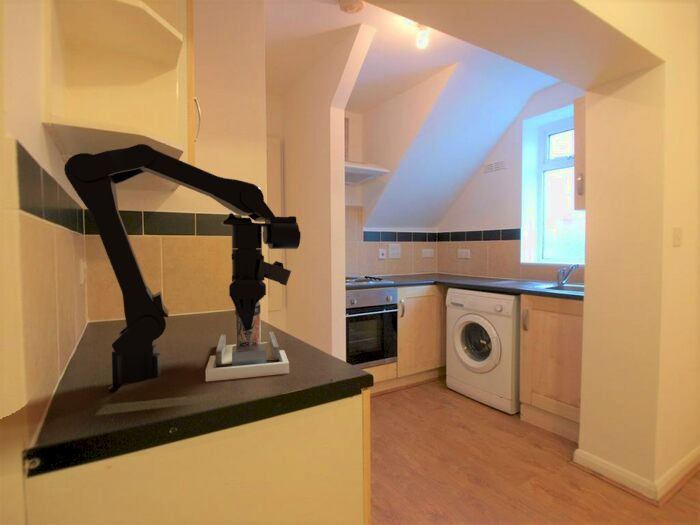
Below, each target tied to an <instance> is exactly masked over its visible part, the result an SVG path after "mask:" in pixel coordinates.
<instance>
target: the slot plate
mask: <svg viewBox="0 0 700 525" xmlns="http://www.w3.org/2000/svg"><path fill="white" fill-rule="evenodd" d="M268 334H269V335H268V341H264V342H262V341H261V344H265V346H266V354H267V361H276V360H277V361H278V360H279V350H280V346H279V344H278V341H277V338H276V334H275V332H274V331H269V332H268ZM226 342H227V339H226V334H221V335H220V337H219V340H218V343H217V344H218V345H217V346H216V350H215V355H216V366H217V365H218V366H220V365H228V364H229V365H230V364H231V365H232V347H233V346H236V343H234V344H227V343H226Z"/></svg>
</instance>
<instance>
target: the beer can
mask: <svg viewBox="0 0 700 525" xmlns="http://www.w3.org/2000/svg"><path fill="white" fill-rule="evenodd" d="M234 308H235V307H234ZM234 310H235V312H234V313H235V315H234V317H235V344H236V346H239V345H252V344H261V343H262V340H261V339H262V338H261V334H262V332H261V327H262V326H261V324H262V322H261V318H262V317H261V302H260V300H259V301H258V302H257V304H256V307H255V312H254V317H253V322H252V327H251V330H245V329H244V326H243V324H242V322H241V319H240V317H239V315H238V312H237V310H236V308H235V309H234Z"/></svg>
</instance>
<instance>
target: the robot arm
mask: <svg viewBox="0 0 700 525" xmlns="http://www.w3.org/2000/svg"><path fill="white" fill-rule="evenodd" d="M144 173H149V174H151V175H153V176H157V177H158V178H162V179H164V180H167V181H170V182H172V183H175V184H177V185H179V186H182V187H184V188H187V189H190V190H192V191H194V192H197V193H200V194H202V195H204V196H207V197H210V198H211V199H213V200H214V201H216V202H218V203H219V204H220V205H222V207H225V208H226V209H228V210H229V211H231V212H230V213H228V214H227V216H226V218H225V219H224V220H223V221H221V222H220V225H221V227H223V226H224V227H231V267H232V268H231V272H232V273H231V282H230V284H229V286H228V288H229V290H228V291H229V293H228V296H229V297H230V299H231V301H232V303H233V305H234V308H236V310H237V312H238V315H239V317H240V319H241V322H242V324H243V326H244V329H245V330H251V327H252V322H253V317H254V312H255V307H256V304H257V302H258V301H259V302H260V300H262V299H263V298H264V297H265V296H266V295H267V285H266V283H265V282H264V281H265V279H268V280H271V281H274V282H276V283H279V284H280V285H282V286H287V284H288V281H289V278H290V277H291V273H292V270H290V269H287V268H285V267H284V263H283V262H280V261H278V260H274V262H273V263H269V262H267V261H265V255H263V250H262V249H263V245H262V244H264V245H267V246H268V248H269V250H297V249H298V248H299V246H300V244H301V231H300V227H299V224H298V222H297V217H296V216H293V215H292V216H291V215H290V216H275V214H274V212H273V211H272V210H271V208H270V207H269V206H268V204H267V203H266V202H265V198H264V194H263V191H262V188H260V187H259V186H258V185H256V184H254V183H252V182H251V183H250V182H247V181H243V180H239V179H233V178H226V177H223V176H218V175H215V174H213V173H211V172H209V171H205V170H204V169H202V168H199V167H198V166H197V167H196V166H195V165H192V164H189V163H187V162H185V161H182V160H180V159H177V158H175V157H173V156H171V155H168V154H166V153H163V152H161V151H159V150H156V149H154V148H153V147H152V146H150V145H148V144H145V143H137V144H136V145H135V144H134V145H132V146H129V147H126V148H117V149H111V150H105V151H102V152H101V151H100V152H98V153H95V154H93V153H85V152H84V153H83V152H81V153H78V154H73V155H72V156H71V157H70V158H68V160H67V161H66V163H65V164H64V174H65V176H66V178H67V180H68V182H69V183H70V185H71V187H72V188H73V190H74V191H75V192H76V194H77V195H78V198H80V200H81V201H82V203H83V204H84V206H85V207H86V209H87V210H88V212H89V213H90V215H91V217H92V219H93V221H94V224H95V226H96V229H97V232H98V234H99V237H100V240H101V242H102V246H103V248H104V250H105V253H106V255H107V257H108V259H109V263H110V265H111V268H112V270H113V273H114V275H115V279H116V280H117V283H118V286H119V288H120V291H121V294H122V300H123V312H124V317H125V318H124V319H125V324H126V326H125V327H124V328H123V329H122V330H121V331H120V332H118V334H117V336H116V337H115V338H114V340H113V342H112V344H111V347H112V349H113V350H112V351H111V373H112V374H111V376H112V380H111V382H112V384H111V385H110V386H109V387H108V391H109V392H114V391H116V392H117V391H119V389H120V388H122V386H123V385H124V384H129V383H132V384H133V383H138V382H142V381H146V380H150V379H154V378H155V379H156V378H159V376H160V375H161V374H162V368H161V367H162V363H161V361H162V358H161V356H162V355H161V353H160V352H158V344H153V343H154V341H156V340H157V339H159V338H160V337H161V336H162V335H163V333H164V332H165V330H166V327H167V318H168V317H169V309H168V308H167V307H166V306H165V304H164V301H163V295H162V292H161V291H159V292H157V293H155V294H153V292H152V290H151V289H150V288H149V287H148V285H147V283H146V280H145V276H144V274H143V272H142V270H141V266H140V264H139V261H138V258H137V256H136V253H135V251H134V249H133V246H132V243H131V241H130V237H129V235H128V232H127V230H126V227H125V225H124V222H123V219H122V217H121V215H120V212H119V211H120V210H119V204H118V202H119V201H118V193H117V189H116V188H117V186H116V185H117V184H120V183H124V182H125V181H126V182H127V181H128V180H130V179H133V178H135V177H136V176H139V175H141V174H144ZM232 212H233V213H232ZM234 213H235V214H236V215H238V216H241V217H237V216H235V215H234ZM242 216H243V217H242ZM252 220H253V221H254V222H253V221H252ZM262 242H263V243H262Z"/></svg>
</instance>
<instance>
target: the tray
mask: <svg viewBox="0 0 700 525" xmlns="http://www.w3.org/2000/svg"><path fill="white" fill-rule="evenodd" d="M278 360H279V361H278V362H269V363H268V362H267V363H265V364H254V365H243V366H232V365H231V366H224V367H223V366H222V367H217V365H216V354H215V355H210V357H209V359H208V361H207V362H208V363H207V365H206V368H205V382H214V381H222V380H223V381H225V380H226V381H227V380H233V379H235V380H236V379H244V378H253V377H263V376H264V377H266V376H274V375H285V374H290V361H289V359H288V357H287V354H286V352H285V349H279V359H278Z"/></svg>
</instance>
